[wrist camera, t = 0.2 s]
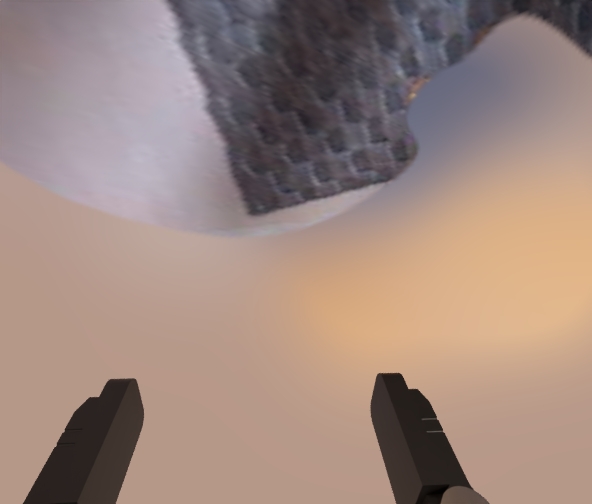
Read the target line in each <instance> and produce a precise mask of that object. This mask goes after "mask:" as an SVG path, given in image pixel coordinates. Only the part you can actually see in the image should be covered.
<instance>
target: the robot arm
mask: <svg viewBox="0 0 592 504" xmlns="http://www.w3.org/2000/svg"><path fill="white" fill-rule="evenodd" d="M371 418H372V422H373V425H374V429H375V433H376V436H377V439H378V443H379V446H380V449H381V453H382V456H383V460H384V463H385V467H386V470H387V473H388V477H389V480H390V483H391V486H392V490H393V493H394V497H395V500H396V504H489V503H488V501H487V500H486V499H485V498H484V497H482V496H481V495H480V494H479V493H477V492H476V491H474V490H473V488H472V487H471V486H470V484H469V482H468V480H467V478H466V476H465V474H464V472H463V470H462V468H461V466H460V464H459V462H458V460H457V458H456V456H455V454H454V452H453V449H452V447H451V445H450V443H449V441H448V439H447V437H446V435H445V433H443V429H442V427H441V425H440V423H439V420H437V416H436V414H435V412H434V410H433V408H432V406H431V404H430V402H429V401H428V400H427V399H426V398H425V397H424V396H423V395H422V393H421V392H420V391H419V390H418V389H408V387H407V385H406V383H405V380H404V378H403V376H402V375H401V374H400V373H379V374H378V375H377V377H376V382H375V386H374V391H373V395H372V400H371ZM143 420H144V409H143V404H142V400H141V396H140V392H139V388H138V384H137V381H136V379H110V380H109V381H108V382H107V383H106V385H105V387H104V389H103V391H102V392H101V394H100V396H99V397H90V398H88V399H87V400H86V402H84V403H83V404H82V405H81V406H80V407H79V408H78V409H77V410H76V411H75V412H74V414H73V416H72V417H71V419H70V421H69V423H68V425H67V426H66V428H65V432H64V433H62V435H61V437H60V439H59V440H58V442H57V446H56V447H55V448H54V449H53V451H52V453H51V455H50V457H49V458H48V460H47V462H46V464H45V465H44V467H43V469H42V471H41V473H40V474H39V476H38V478H37V480H36V481H35V483H34V485H33V487H32V488H31V491H30V492H29V494H28V496H27V497H26V499H25V501H24V503H23V504H116V501H117V498H118V495H119V492H120V490H121V487H122V484H123V481H124V478H125V475H126V472H127V470H128V467H129V464H130V461H131V458H132V455H133V452H134V449H135V447H136V443H137V441H138V438H139V435H140V432H141V429H142V426H143Z"/></svg>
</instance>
